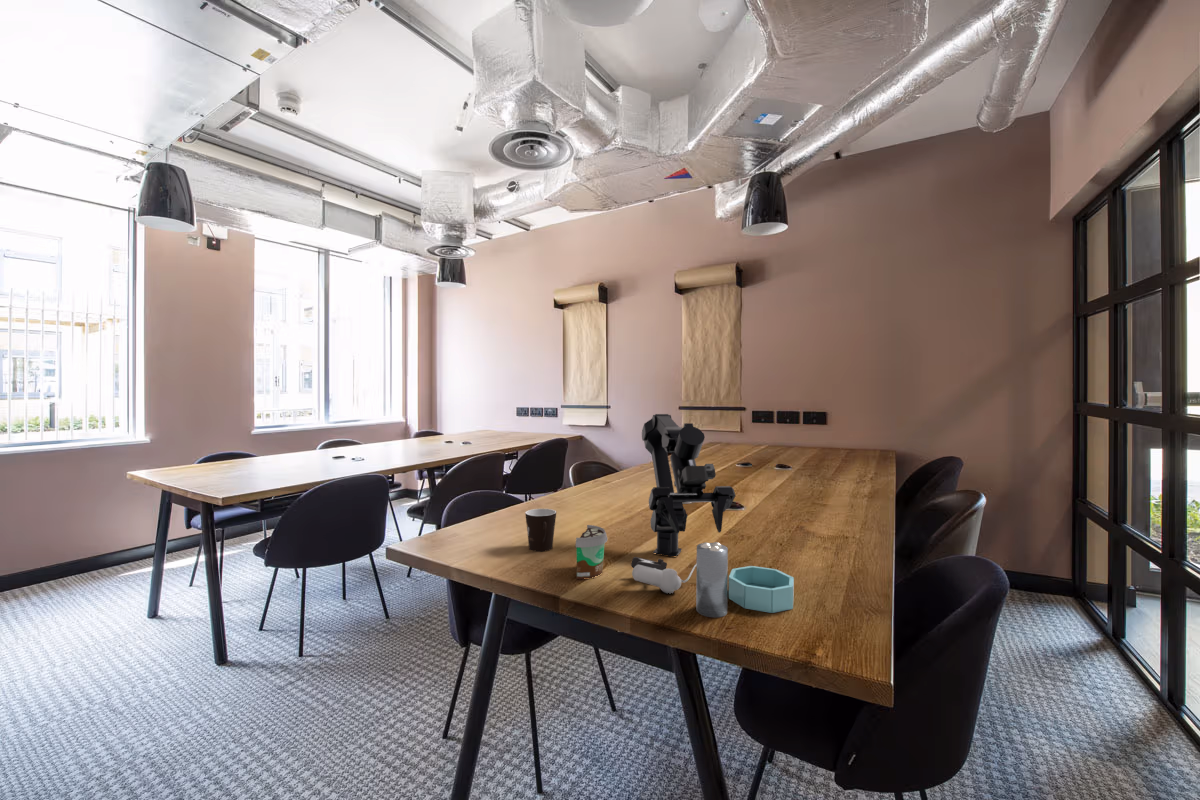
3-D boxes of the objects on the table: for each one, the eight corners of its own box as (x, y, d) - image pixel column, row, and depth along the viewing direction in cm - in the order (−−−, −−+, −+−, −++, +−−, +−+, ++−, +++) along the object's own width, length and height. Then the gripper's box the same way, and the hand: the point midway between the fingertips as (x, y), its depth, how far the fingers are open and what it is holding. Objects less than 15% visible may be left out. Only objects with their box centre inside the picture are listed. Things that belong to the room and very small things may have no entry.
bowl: (734, 583, 111) (734, 563, 111) (794, 592, 106) (794, 571, 106) (725, 605, 99) (725, 583, 99) (792, 616, 94) (792, 593, 94)
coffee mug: (530, 542, 140) (530, 508, 140) (559, 544, 139) (559, 509, 139) (517, 555, 129) (517, 518, 129) (549, 557, 128) (549, 519, 127)
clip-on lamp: (704, 591, 114) (629, 571, 115) (710, 564, 114) (635, 544, 116) (712, 608, 102) (628, 586, 104) (718, 578, 102) (635, 556, 104)
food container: (601, 584, 110) (602, 540, 110) (575, 581, 111) (575, 538, 111) (611, 565, 122) (611, 525, 122) (587, 563, 123) (587, 524, 123)
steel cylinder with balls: (699, 602, 100) (700, 537, 100) (729, 607, 98) (729, 541, 98) (693, 614, 95) (693, 545, 95) (724, 619, 93) (725, 549, 92)
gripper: (651, 451, 108) (662, 512, 97) (732, 450, 110) (752, 511, 99) (644, 480, 116) (654, 540, 105) (720, 479, 118) (737, 538, 107)
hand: (699, 532), depth 104 cm, fingers open, 9 cm apart
